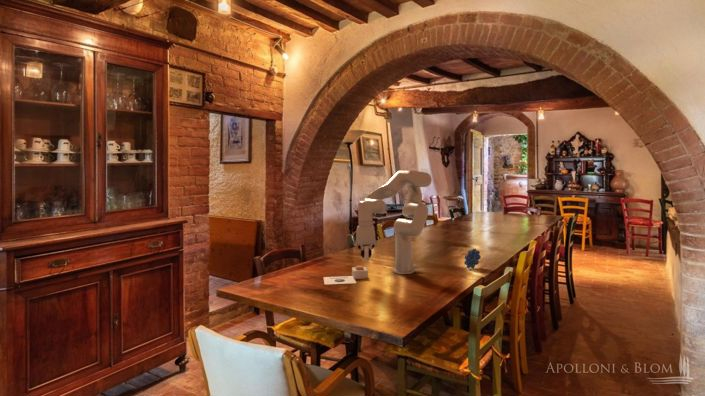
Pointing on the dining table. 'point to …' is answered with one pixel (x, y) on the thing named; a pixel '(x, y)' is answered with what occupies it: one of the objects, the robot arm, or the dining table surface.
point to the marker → (366, 252)
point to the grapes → (472, 258)
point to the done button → (359, 267)
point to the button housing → (359, 273)
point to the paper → (339, 280)
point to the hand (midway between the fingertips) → (366, 256)
